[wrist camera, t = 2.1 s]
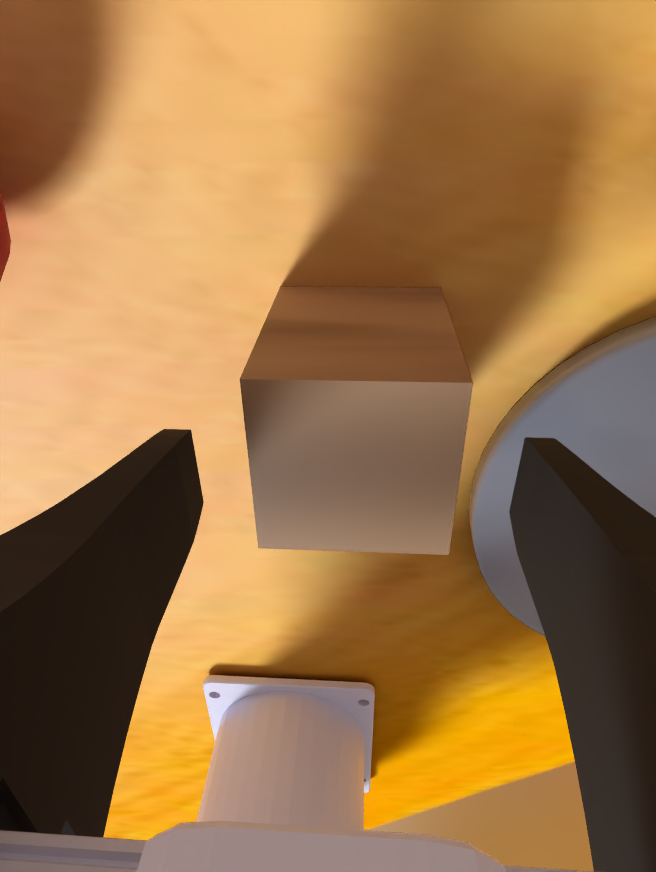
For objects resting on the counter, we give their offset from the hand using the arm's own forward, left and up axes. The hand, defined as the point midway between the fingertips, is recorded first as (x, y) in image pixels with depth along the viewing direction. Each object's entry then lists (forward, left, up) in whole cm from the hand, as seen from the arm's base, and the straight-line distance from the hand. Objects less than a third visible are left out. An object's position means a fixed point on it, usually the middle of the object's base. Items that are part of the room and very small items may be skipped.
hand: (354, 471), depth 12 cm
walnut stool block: (0, 0, -6) cm, 6 cm away
